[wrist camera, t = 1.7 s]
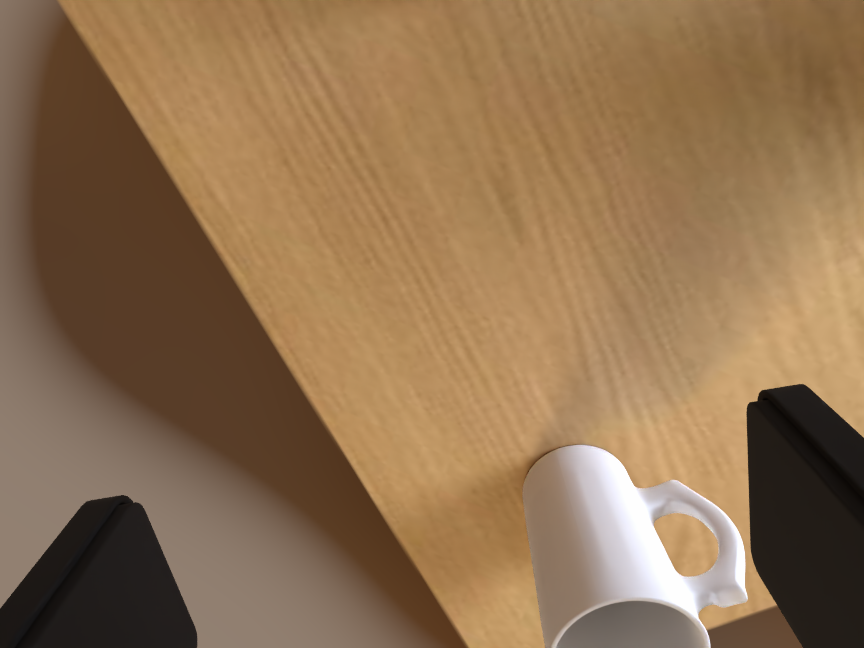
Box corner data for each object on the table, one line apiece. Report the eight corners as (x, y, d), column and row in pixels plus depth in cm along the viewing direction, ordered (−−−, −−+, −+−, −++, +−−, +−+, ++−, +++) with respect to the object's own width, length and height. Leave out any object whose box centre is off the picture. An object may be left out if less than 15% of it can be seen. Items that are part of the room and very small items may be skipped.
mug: (543, 551, 41) (581, 734, 30) (498, 466, 39) (522, 631, 28) (702, 491, 40) (806, 663, 28) (666, 399, 37) (762, 546, 26)
